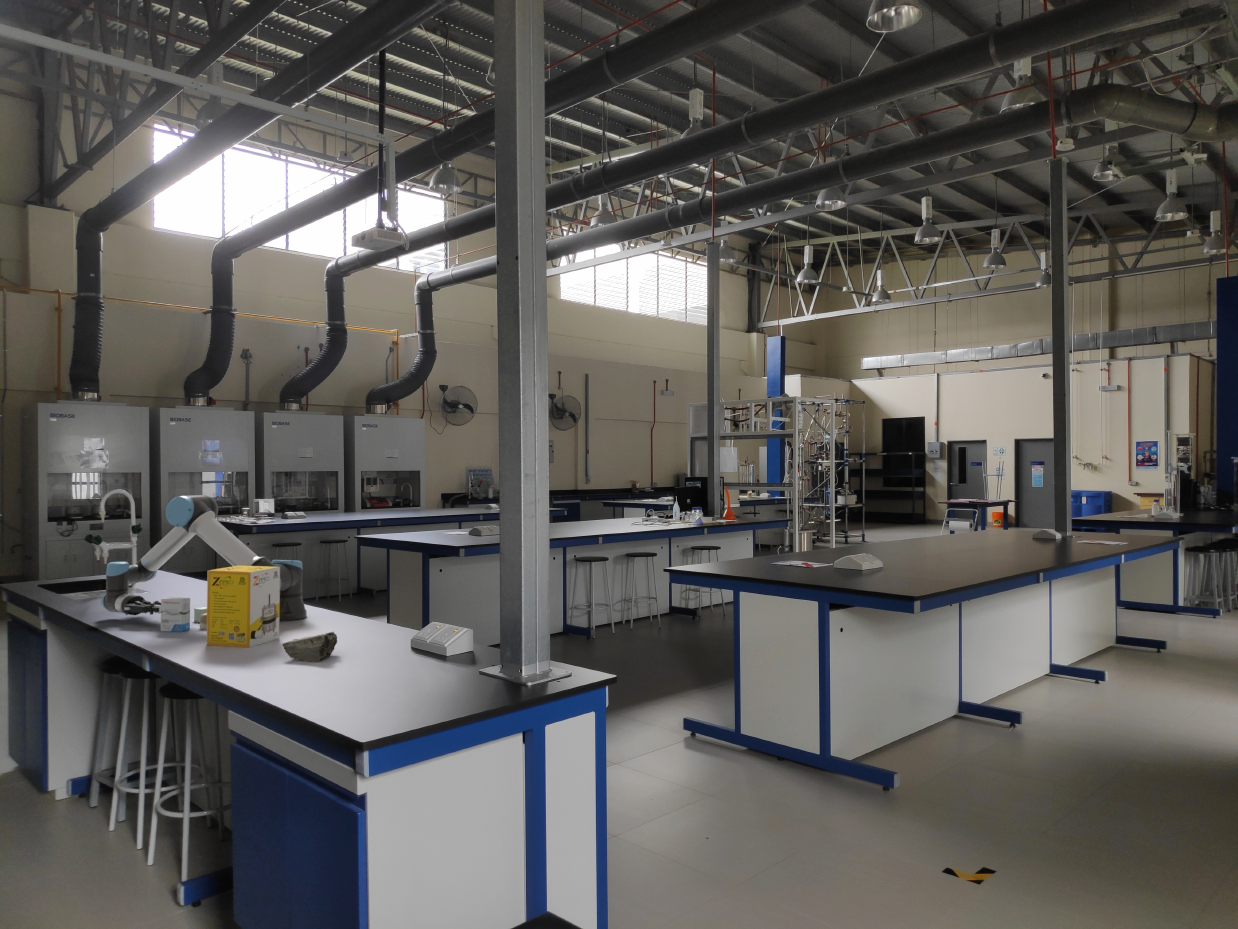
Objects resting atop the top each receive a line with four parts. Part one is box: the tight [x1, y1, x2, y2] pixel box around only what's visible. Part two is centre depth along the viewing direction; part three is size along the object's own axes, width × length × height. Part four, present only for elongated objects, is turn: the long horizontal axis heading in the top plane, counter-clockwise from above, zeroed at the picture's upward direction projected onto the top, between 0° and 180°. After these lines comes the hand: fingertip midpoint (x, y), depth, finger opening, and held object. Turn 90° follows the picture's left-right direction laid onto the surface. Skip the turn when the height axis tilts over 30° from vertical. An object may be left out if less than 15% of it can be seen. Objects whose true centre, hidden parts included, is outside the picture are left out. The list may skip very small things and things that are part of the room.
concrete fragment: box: [281, 631, 338, 663], centre depth 255 cm, size 15×10×15 cm
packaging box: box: [205, 565, 280, 648], centre depth 278 cm, size 16×16×25 cm
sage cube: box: [193, 606, 207, 623], centre depth 315 cm, size 5×5×5 cm
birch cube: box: [199, 613, 207, 630], centre depth 302 cm, size 5×5×5 cm
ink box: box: [160, 596, 191, 633], centre depth 296 cm, size 8×5×12 cm, turn 84°
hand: (166, 610), depth 299 cm, fingers closed
